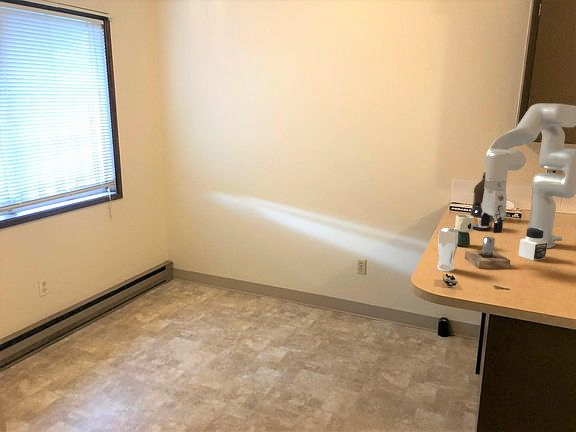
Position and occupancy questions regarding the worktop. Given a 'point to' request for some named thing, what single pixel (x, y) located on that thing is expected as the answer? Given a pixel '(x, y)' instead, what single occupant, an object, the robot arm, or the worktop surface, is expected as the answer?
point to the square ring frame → (487, 260)
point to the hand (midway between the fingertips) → (490, 229)
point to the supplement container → (479, 218)
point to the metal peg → (488, 247)
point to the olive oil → (479, 191)
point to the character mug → (464, 229)
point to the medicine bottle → (533, 245)
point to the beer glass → (447, 248)
